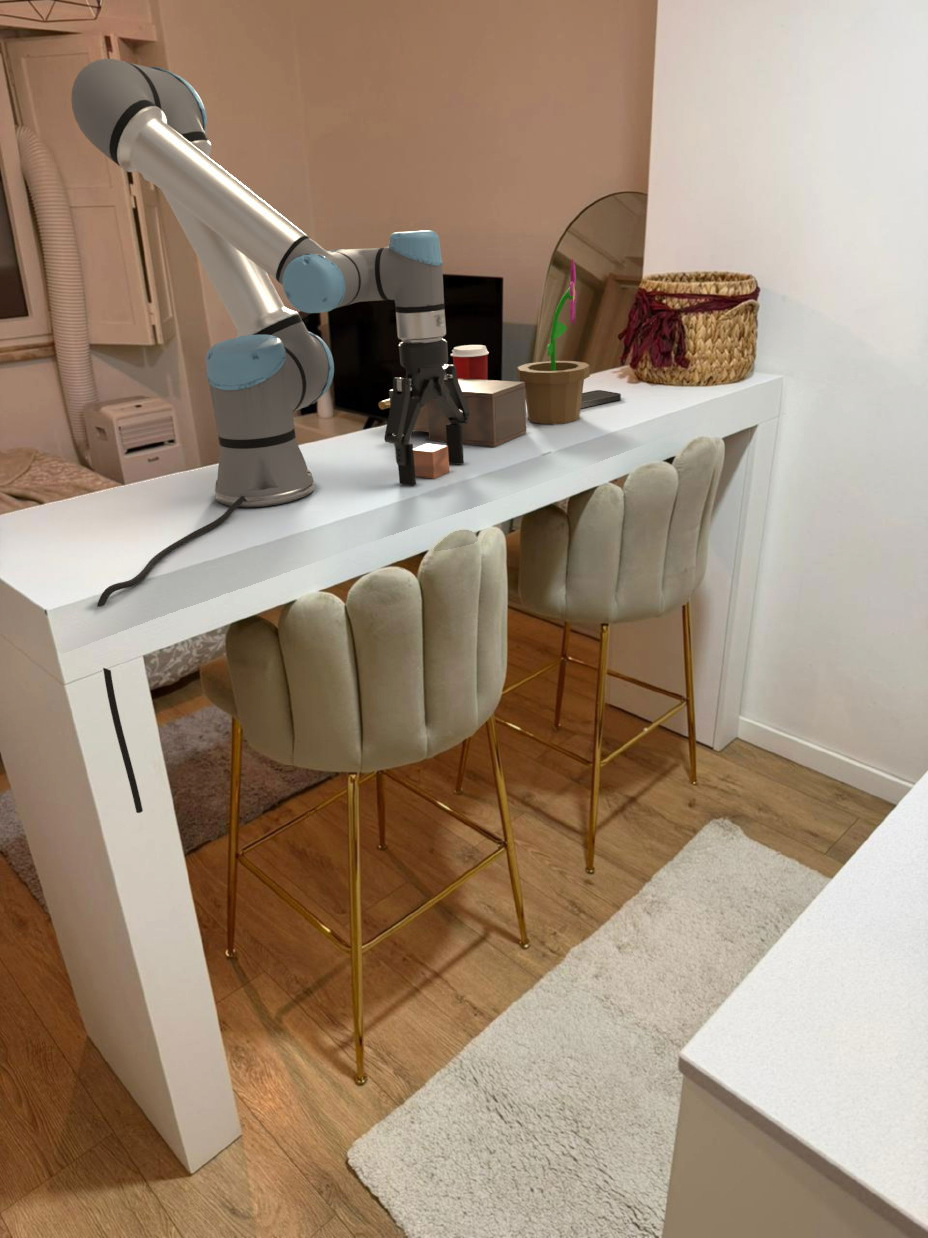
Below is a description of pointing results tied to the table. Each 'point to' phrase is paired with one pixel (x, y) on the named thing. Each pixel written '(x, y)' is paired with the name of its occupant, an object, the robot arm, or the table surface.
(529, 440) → the table surface
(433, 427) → the cabinet
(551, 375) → the flowerpot
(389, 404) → the drawer
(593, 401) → the phone
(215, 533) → the table surface
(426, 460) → the block
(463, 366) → the paper cup
